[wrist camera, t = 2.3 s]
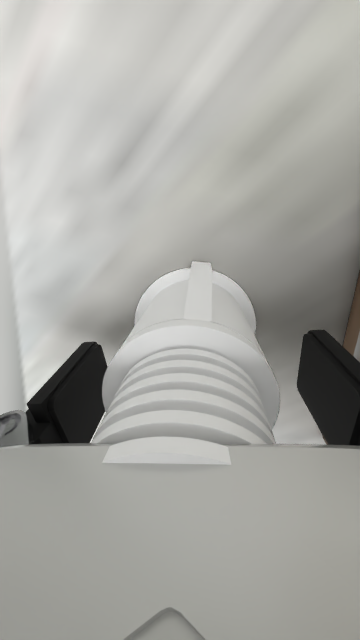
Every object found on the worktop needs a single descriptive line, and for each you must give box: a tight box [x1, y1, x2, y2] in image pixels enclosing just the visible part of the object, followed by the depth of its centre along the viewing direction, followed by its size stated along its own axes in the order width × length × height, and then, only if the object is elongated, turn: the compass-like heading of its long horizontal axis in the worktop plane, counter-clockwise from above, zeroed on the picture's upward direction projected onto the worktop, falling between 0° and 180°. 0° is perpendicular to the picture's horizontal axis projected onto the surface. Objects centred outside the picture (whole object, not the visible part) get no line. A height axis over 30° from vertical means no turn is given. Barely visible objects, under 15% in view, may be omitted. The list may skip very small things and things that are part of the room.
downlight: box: [91, 261, 280, 465], centre depth 9 cm, size 8×7×10 cm
